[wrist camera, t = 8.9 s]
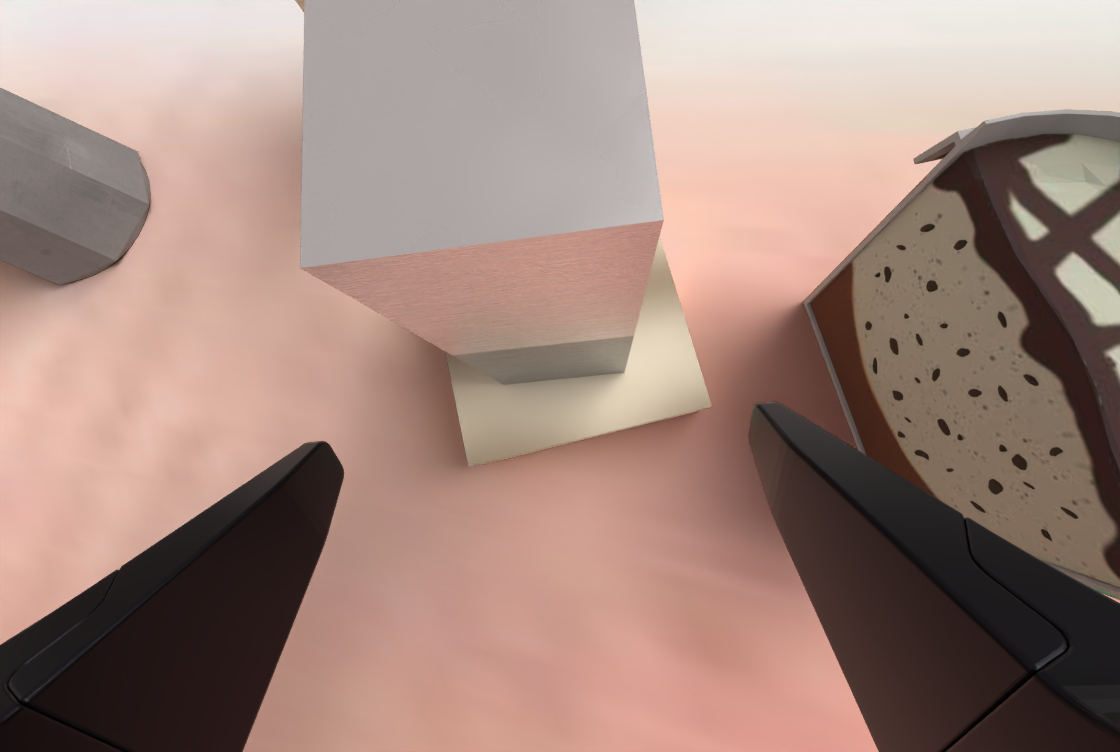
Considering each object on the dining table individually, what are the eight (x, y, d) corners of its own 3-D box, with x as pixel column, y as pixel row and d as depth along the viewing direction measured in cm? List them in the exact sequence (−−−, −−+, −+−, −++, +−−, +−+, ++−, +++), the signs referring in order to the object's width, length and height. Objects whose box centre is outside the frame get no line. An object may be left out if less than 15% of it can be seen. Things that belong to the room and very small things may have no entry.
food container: (1048, 510, 17) (1640, 598, 7) (893, 545, 18) (1257, 674, 8) (927, 234, 19) (1258, 19, 10) (791, 271, 20) (975, 101, 10)
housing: (624, 372, 17) (663, 219, 6) (503, 384, 18) (299, 268, 6) (611, 256, 18) (621, -92, 6) (496, 271, 19) (305, -29, 7)
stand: (698, 411, 19) (712, 406, 17) (485, 464, 20) (468, 466, 17) (638, 213, 21) (643, 182, 18) (444, 267, 22) (423, 244, 19)
